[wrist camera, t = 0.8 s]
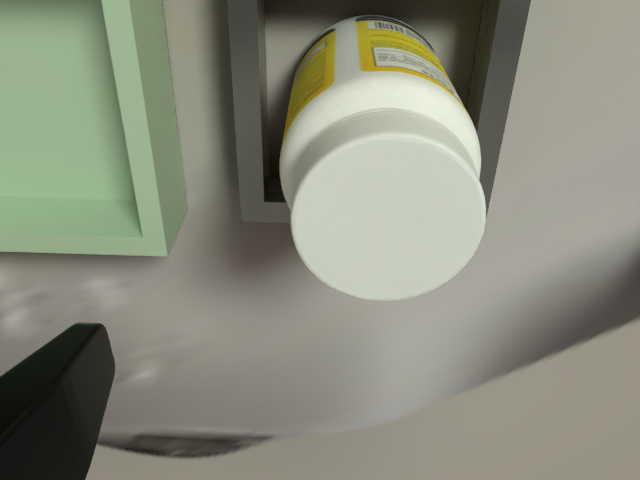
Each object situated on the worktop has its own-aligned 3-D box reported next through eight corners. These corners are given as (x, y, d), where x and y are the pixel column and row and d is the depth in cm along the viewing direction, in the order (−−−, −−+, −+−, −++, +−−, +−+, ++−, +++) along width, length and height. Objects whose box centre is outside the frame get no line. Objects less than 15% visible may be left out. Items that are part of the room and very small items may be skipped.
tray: (152, -83, 16) (118, -71, 14) (187, 209, 21) (167, 256, 19) (-182, -91, 16) (-277, -82, 14) (-67, 202, 21) (-121, 247, 19)
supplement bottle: (318, 171, 20) (308, 335, 13) (272, 39, 18) (230, 155, 11) (455, 134, 20) (520, 289, 13) (426, -10, 17) (487, 81, 10)
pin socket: (520, -47, 16) (538, -38, 15) (473, 202, 21) (483, 229, 19) (234, -55, 17) (223, -46, 15) (247, 196, 21) (241, 222, 20)
